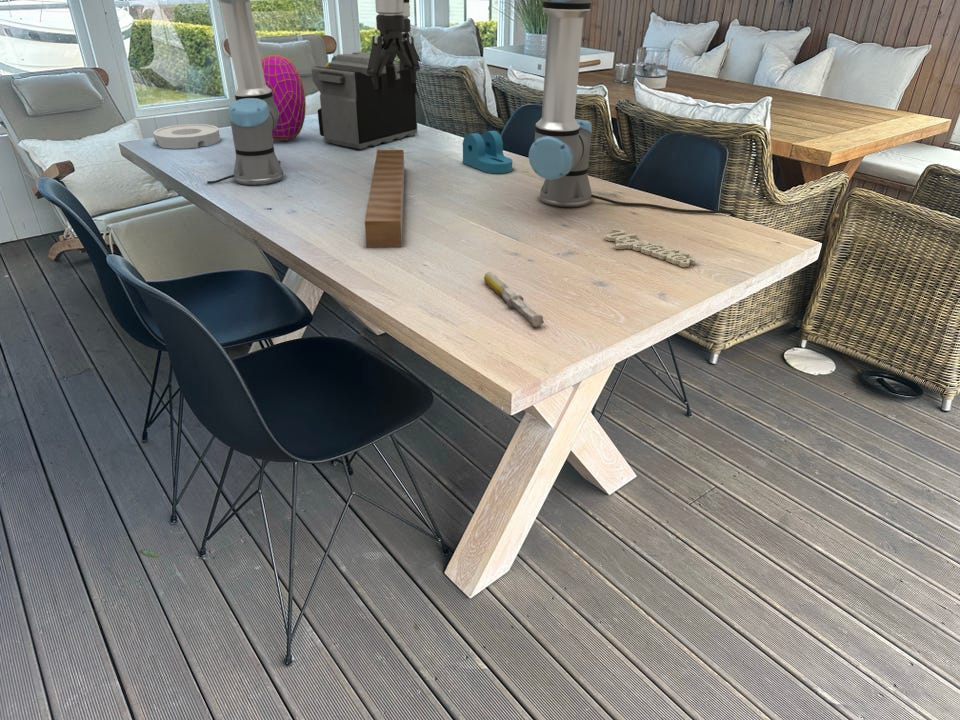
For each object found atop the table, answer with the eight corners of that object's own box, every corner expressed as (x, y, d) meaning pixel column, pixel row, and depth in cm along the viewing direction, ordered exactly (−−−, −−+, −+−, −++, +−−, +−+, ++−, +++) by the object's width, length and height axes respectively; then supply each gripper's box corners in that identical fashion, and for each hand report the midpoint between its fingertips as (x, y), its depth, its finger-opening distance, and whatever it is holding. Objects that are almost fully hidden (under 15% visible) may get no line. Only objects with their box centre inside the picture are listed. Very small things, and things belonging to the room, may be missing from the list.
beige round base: (171, 134, 271) (168, 123, 269) (229, 135, 270) (227, 124, 268) (144, 148, 251) (141, 136, 249) (207, 149, 251) (205, 138, 249)
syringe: (480, 279, 152) (480, 268, 151) (495, 277, 153) (495, 266, 152) (526, 330, 132) (527, 317, 131) (544, 326, 134) (545, 314, 132)
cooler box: (381, 126, 286) (376, 48, 271) (421, 134, 275) (419, 52, 260) (314, 143, 261) (305, 57, 245) (356, 151, 250) (349, 62, 234)
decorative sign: (591, 236, 174) (616, 227, 180) (591, 240, 174) (616, 231, 180) (679, 267, 157) (703, 256, 163) (678, 271, 158) (703, 260, 163)
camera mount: (462, 163, 238) (462, 131, 233) (487, 158, 243) (487, 128, 238) (493, 175, 225) (494, 142, 220) (518, 170, 230) (519, 138, 225)
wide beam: (401, 246, 170) (400, 220, 166) (366, 247, 169) (364, 221, 166) (404, 169, 230) (403, 149, 227) (378, 170, 230) (377, 149, 226)
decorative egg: (293, 132, 276) (283, 50, 261) (319, 140, 264) (310, 56, 249) (249, 139, 265) (236, 54, 250) (273, 148, 253) (261, 60, 238)
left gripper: (429, 20, 206) (431, 95, 216) (388, 14, 223) (392, 84, 234) (408, 21, 202) (411, 97, 213) (368, 15, 219) (372, 86, 230)
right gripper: (405, 11, 195) (408, 90, 206) (349, 16, 177) (356, 103, 187) (427, 12, 192) (429, 92, 203) (372, 17, 173) (378, 105, 184)
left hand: (401, 90), depth 223 cm, fingers open, 13 cm apart
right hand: (394, 97), depth 195 cm, fingers open, 13 cm apart
